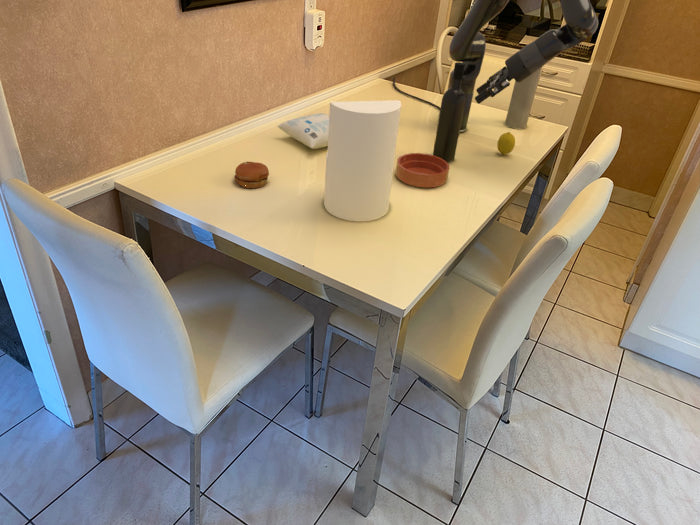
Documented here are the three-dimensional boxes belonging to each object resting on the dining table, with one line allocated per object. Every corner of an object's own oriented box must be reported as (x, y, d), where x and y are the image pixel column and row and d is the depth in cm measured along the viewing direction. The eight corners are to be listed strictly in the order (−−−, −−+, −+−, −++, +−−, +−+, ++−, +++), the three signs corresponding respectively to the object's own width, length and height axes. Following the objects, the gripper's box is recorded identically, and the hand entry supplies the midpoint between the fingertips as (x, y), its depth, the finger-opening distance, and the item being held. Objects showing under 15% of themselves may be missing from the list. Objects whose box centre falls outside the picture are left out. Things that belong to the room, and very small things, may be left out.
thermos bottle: (505, 120, 205) (524, 44, 189) (526, 123, 203) (546, 48, 187) (504, 126, 199) (522, 49, 183) (525, 130, 197) (546, 52, 181)
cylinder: (397, 218, 135) (412, 112, 119) (333, 224, 131) (339, 114, 115) (376, 188, 149) (387, 89, 133) (317, 192, 144) (321, 90, 128)
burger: (253, 192, 142) (252, 176, 139) (227, 182, 146) (226, 166, 143) (276, 180, 149) (276, 164, 146) (251, 171, 153) (250, 156, 150)
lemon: (512, 159, 173) (518, 136, 168) (495, 157, 174) (500, 133, 169) (511, 153, 177) (517, 130, 173) (494, 150, 178) (500, 128, 174)
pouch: (311, 134, 158) (360, 120, 169) (275, 117, 170) (323, 104, 181) (312, 158, 163) (359, 143, 174) (277, 140, 175) (323, 127, 186)
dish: (385, 171, 159) (387, 157, 156) (425, 163, 166) (427, 150, 163) (415, 193, 148) (417, 178, 145) (457, 183, 155) (460, 169, 152)
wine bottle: (441, 154, 172) (458, 59, 155) (455, 160, 169) (473, 64, 152) (430, 158, 169) (446, 62, 152) (444, 164, 166) (462, 67, 149)
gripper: (518, 45, 152) (471, 80, 161) (519, 56, 141) (468, 93, 149) (532, 66, 154) (484, 100, 163) (534, 79, 143) (483, 114, 151)
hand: (477, 96), depth 156 cm, fingers open, 8 cm apart
